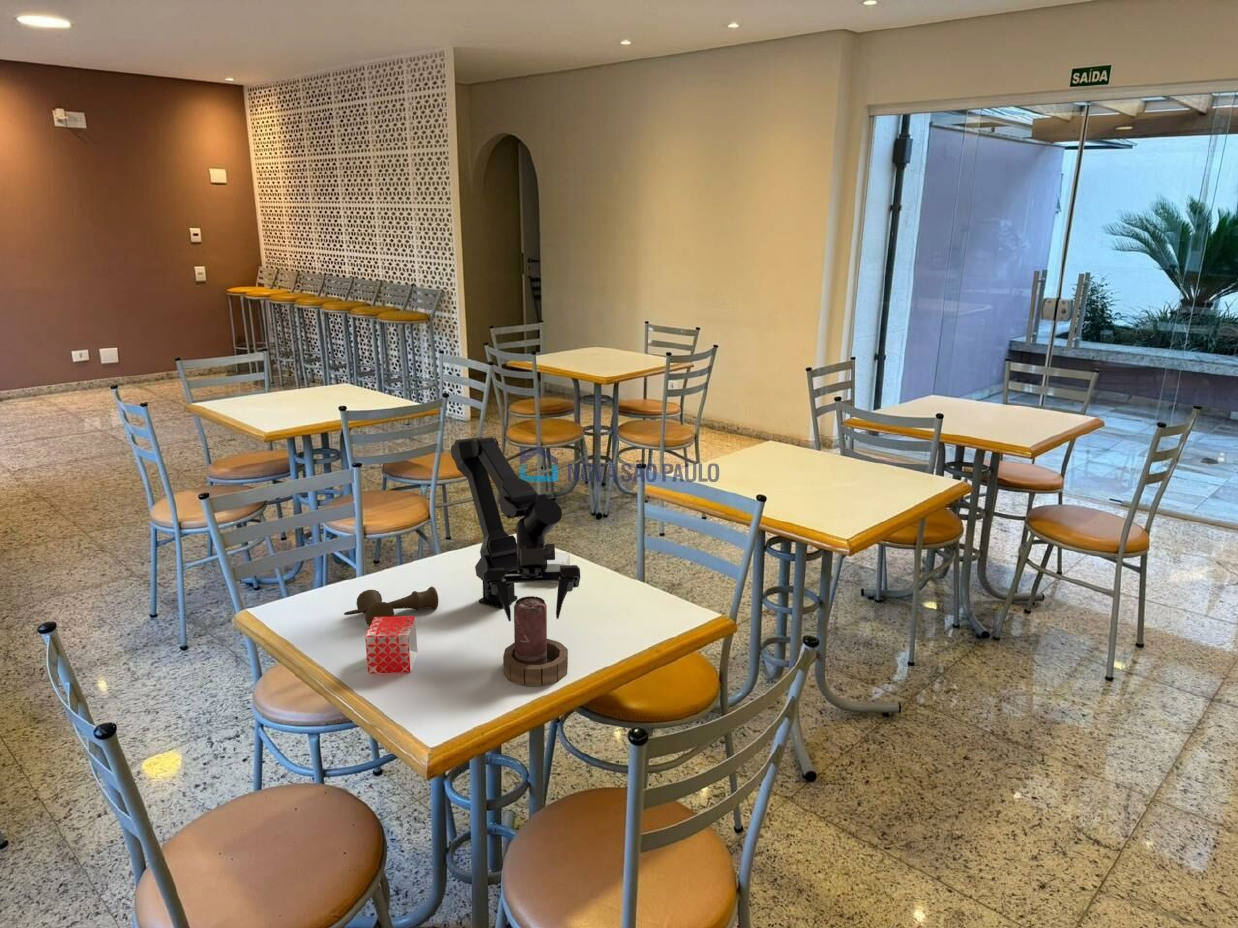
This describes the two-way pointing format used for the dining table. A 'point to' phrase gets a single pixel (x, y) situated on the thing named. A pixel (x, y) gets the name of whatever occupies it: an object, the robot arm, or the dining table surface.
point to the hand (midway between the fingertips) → (533, 619)
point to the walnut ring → (537, 666)
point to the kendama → (392, 603)
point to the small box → (558, 563)
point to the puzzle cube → (391, 645)
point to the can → (530, 630)
